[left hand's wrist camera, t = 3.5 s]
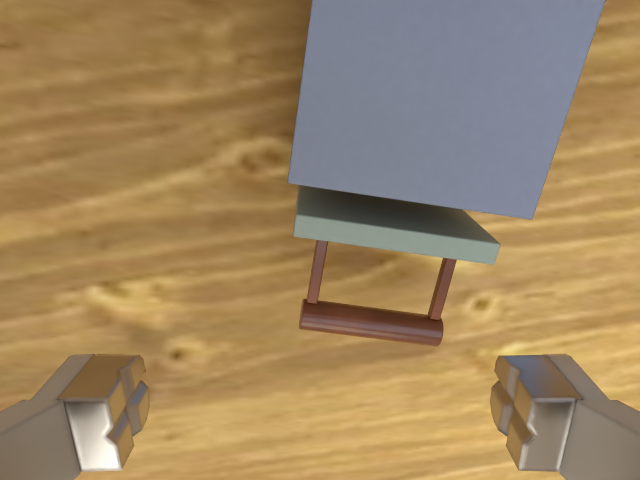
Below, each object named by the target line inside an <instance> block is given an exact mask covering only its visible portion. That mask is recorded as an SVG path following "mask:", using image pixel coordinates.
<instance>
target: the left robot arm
mask: <svg viewBox="0 0 640 480" xmlns="http://www.w3.org/2000/svg"><path fill="white" fill-rule="evenodd" d="M145 371H146V370H145V365H144V360H143V358H142V357H141V356H140V355H110V354H97V355H95V354H75V355H71V356H69V357H68V358H67V360H66V361H65V362H64V363H63V364H62V365H61V366H60V367H59V369H58V370H57V371H56V372H55V373H54V374H53V375H52V376H51V377H50V379H49V380H48V381H47V382H46V383H45V384H44V385H43V386H42V388H41V389H40V390H39V391H38V392H37V393H36V394H35V395H34V396H33V398H32V399H31V400H22V401H20V402H18V403H16V404H14V405H12V406H10V407H8V408H6V409H4V410H2V411H0V480H74V479H75V478H76V477H77V476H78V475H80V472H87V471H121V470H122V468H123V466H124V464H125V462H126V460H127V458H128V457H129V455H130V453H131V451H132V449H133V447H134V443H133V436H134V435H136V434H137V433H138V432H140V431H141V430H142V429H143V426H144V424H145V422H146V420H147V416H148V411H149V402H150V396H149V389H148V387H147V386H146V385H145V384H144V383H143V381H142V380H141V378H142V377H143V375H144V373H145ZM494 371H495V373H496V375H497V377H498V378H499V380H498V381H497V383H496V384H495V385H494V386H493V387H492V389H491V398H490V403H491V413H492V416H493V419H494V422H495V424H496V426H497V429H498V430H499V431H500V432H502V433H503V434H504V435H506V436H507V443H506V447H507V449H508V451H509V453H510V455H511V456H512V458H513V460H514V462H515V464H516V466H517V468H518V470H519V471H553V472H560V474H561V475H562V476H563V477H564V478H565V479H567V480H640V411H638V410H636V409H634V408H632V407H630V406H628V405H626V404H624V403H622V402H620V401H618V400H609V399H608V398H607V396H606V395H605V394H604V393H603V392H602V391H601V390H600V389H599V388H598V386H597V385H596V384H595V383H594V382H593V381H592V380H591V379H590V377H589V376H588V375H587V374H586V373H585V372H584V371H583V370H582V369H581V367H580V366H579V365H578V364H577V363H576V362H575V361H574V360H573V358H572V357H571V356H569V355H567V354H545V355H513V356H498V358H497V361H496V364H495V370H494Z"/></svg>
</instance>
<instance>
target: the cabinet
mask: <svg viewBox="0 0 640 480" xmlns="http://www.w3.org/2000/svg"><path fill="white" fill-rule="evenodd" d="M604 3H605V0H312V5H311V12H310V20H309V27H308V35H307V42H306V49H305V57H304V64H303V71H302V79H301V86H300V94H299V101H298V108H297V116H296V123H295V130H294V138H293V145H292V152H291V160H290V167H289V175H288V183H290V184H297V185H304V186H310V187H317V188H324V189H330V190H337V191H343V192H350V193H357V194H363V195H370V196H377V197H383V198H390V199H397V200H403V201H410V202H417V203H423V204H430V205H437V206H443V207H450V208H457V209H463V210H470V211H477V212H483V213H490V214H497V215H503V216H510V217H517V218H523V219H530V220H531V219H533V216H534V213H535V210H536V207H537V204H538V201H539V198H540V195H541V192H542V189H543V186H544V183H545V180H546V177H547V174H548V171H549V168H550V165H551V162H552V159H553V156H554V153H555V150H556V147H557V144H558V141H559V138H560V135H561V132H562V129H563V126H564V123H565V120H566V117H567V114H568V111H569V108H570V105H571V102H572V99H573V96H574V93H575V90H576V87H577V84H578V81H579V78H580V75H581V72H582V69H583V66H584V63H585V60H586V57H587V54H588V51H589V48H590V45H591V42H592V39H593V36H594V33H595V30H596V27H597V24H598V21H599V18H600V15H601V12H602V9H603V6H604Z"/></svg>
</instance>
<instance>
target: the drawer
mask: <svg viewBox="0 0 640 480" xmlns="http://www.w3.org/2000/svg"><path fill="white" fill-rule="evenodd" d="M293 236H294V237H301V238H308V239H315V240H316V246H315V252H314V258H313V264H312V270H311V276H310V282H309V288H308V295H307V299H303V301H302V306H301V313H300V321H299V329H303V330H311V331H319V332H327V333H335V334H342V335H350V336H358V337H366V338H374V339H382V340H390V341H397V342H405V343H413V344H421V345H429V346H439V345H440V343H441V340H442V337H443V322H442V319H441V313H442V310H443V306H444V303H445V299H446V296H447V292H448V289H449V285H450V282H451V278H452V274H453V271H454V267H455V264H456V260H463V261H470V262H477V263H484V264H492V265H494V264H495V261H496V257H497V254H498V251H499V248H500V243H499V242H498V241H496V240H495V239H494V238H493V237H492V236H491V235H490V234H489V233H488V232H487V231H485V230H484V229H483V228H482V227H481V226H480V225H479V224H478V223H477V222H475V221H474V220H473V219H472V218H471V217H470V216H469V215H468V214H467V213H465V212H464V211H463V210H462V209H457V208H450V207H443V206H437V205H430V204H423V203H417V202H410V201H403V200H397V199H390V198H383V197H377V196H370V195H363V194H357V193H350V192H343V191H337V190H330V189H324V188H317V187H310V186H304V185H299V188H298V195H297V202H296V211H295V220H294V229H293ZM328 241H329V242H336V243H343V244H350V245H357V246H365V247H372V248H379V249H386V250H393V251H400V252H407V253H414V254H421V255H428V256H435V257H442V258H443V260H442V264H441V268H440V271H439V275H438V279H437V282H436V286H435V290H434V293H433V297H432V301H431V305H430V308H429V312H428V315H424V314H417V313H409V312H402V311H394V310H387V309H379V308H371V307H364V306H356V305H349V304H341V303H334V302H326V301H318V296H319V290H320V285H321V279H322V273H323V268H324V262H325V256H326V250H327V245H328Z"/></svg>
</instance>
